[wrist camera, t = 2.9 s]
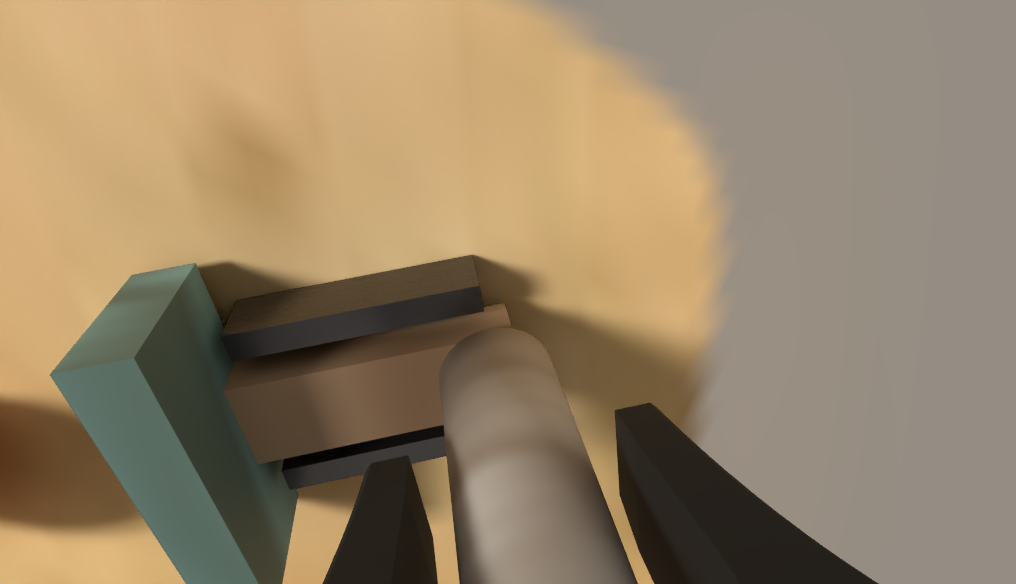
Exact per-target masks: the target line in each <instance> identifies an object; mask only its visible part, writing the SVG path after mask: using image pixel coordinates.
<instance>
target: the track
mask: <svg viewBox="0 0 1016 584" xmlns="http://www.w3.org/2000/svg"><path fill="white" fill-rule="evenodd" d="M483 311H484V306H483V301H482V295H481V290H480V285H479V281H478V277H477V273H476V269H475V265H474V261H473V257H472V255H469V256H464V257H458V258H453V259H448V260H443V261H438V262H433V263H427V264H422V265H417V266H412V267H407V268H402V269H396V270H391V271H386V272H381V273H376V274H370V275H365V276H360V277H355V278H350V279H345V280H339V281H334V282H329V283H324V284H319V285H314V286H308V287H303V288H298V289H293V290H288V291H283V292H277V293H272V294H267V295H262V296H257V297H251V298H246V299H241V300H237V301H236V304H235V306H234V308H233V310H232V312H231V315H230V317H229V319H228V321H227V323H226V325H225V328H224V330H223V332H222V334H221V336H220V337H221V339H222V342H223V344H224V346H225V348H226V350H227V353H228V355H229V357H230V359H231V361H232V362H234V361H239V360H244V359H249V358H254V357H259V356H264V355H269V354H274V353H279V352H284V351H289V350H294V349H299V348H304V347H309V346H314V345H319V344H324V343H329V342H334V341H339V340H344V339H349V338H354V337H359V336H364V335H369V334H374V333H379V332H384V331H389V330H394V329H399V328H404V327H409V326H414V325H419V324H424V323H429V322H434V321H439V320H444V319H449V318H454V317H459V316H464V315H469V314H474V313H478V312H483ZM406 455H408V456H409V459H410V462H411V464H412V463H416V462H421V461H425V460H430V459H435V458H439V457H444V456H447V454H446V444H445V434H444V425H440V426H435V427H431V428H426V429H421V430H417V431H412V432H407V433H403V434H398V435H393V436H389V437H384V438H379V439H375V440H370V441H365V442H361V443H356V444H351V445H347V446H342V447H337V448H333V449H328V450H323V451H319V452H314V453H309V454H304V455H300V456H295V457H290V458H286V459H284V461H283V466H282V470H281V472H282V474H283V476H284V478H285V480H286V483H287V485H288V487H289V489H290V490H292V489H297V488H301V487H306V486H311V485H315V484H320V483H324V482H329V481H334V480H338V479H343V478H347V477H352V476H357V475H361V474H365V472H366V469H367V468H368V467H369V466H370V464H371V463H374V462H379V461H383V460H388V459H393V458H397V457H402V456H406Z"/></svg>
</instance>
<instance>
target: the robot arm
mask: <svg viewBox="0 0 1016 584" xmlns="http://www.w3.org/2000/svg"><path fill="white" fill-rule="evenodd" d="M615 421H616V439H617V456H618V474H619V492H620V497H621V500H622V503H623V506H624V509H625V512H626V515H627V518H628V520H629V523H630V526H631V529H632V532H633V535H634V538H635V540H636V543H637V546H638V549H639V552H640V554H641V556H642V558H643V560H644V562H645V565H646V567H647V569H648V571H649V573H650V575H651V577H652V580H653V582H654V584H878V583H877V582H875V581H873V580H872V579H870V578H869V577H867V576H866V575H864V574H863V573H861V572H860V571H858V570H857V569H855V568H854V567H852V566H851V565H849V564H848V563H846V562H845V561H843V560H842V559H840V558H839V557H838V556H836V555H835V554H833V553H832V552H830V551H829V550H827V549H826V548H825V547H823V546H822V545H820V544H819V543H818V542H816V541H815V540H813V539H812V538H811V537H809V536H808V535H807V534H805V533H804V532H802V531H801V530H800V529H799V528H797V527H796V526H794V525H793V524H792V523H791V522H789V521H788V520H786V519H785V518H784V517H782V516H781V515H780V514H778V513H777V512H776V511H775V510H773V509H772V508H771V507H770V506H768V505H767V504H766V503H764V502H763V501H762V500H761V499H759V498H758V497H757V496H756V495H755V494H753V493H752V492H751V491H750V490H748V489H747V488H746V487H745V486H744V485H742V484H741V483H740V482H739V481H738V480H737V479H735V478H734V477H733V476H732V475H730V474H729V473H728V472H727V471H726V470H724V469H723V468H722V467H721V466H720V465H719V464H718V463H716V462H715V461H714V460H713V459H712V458H711V457H709V456H708V455H707V454H706V453H705V452H704V451H703V450H702V449H701V448H699V447H698V446H697V445H696V444H695V443H694V442H693V441H692V440H691V439H689V438H688V437H687V436H686V435H685V434H684V433H683V432H682V431H681V430H680V429H679V428H678V427H677V426H675V425H674V424H673V423H672V422H671V421H670V420H669V419H668V418H667V417H666V416H665V415H664V414H663V413H662V412H661V411H660V410H659V409H658V408H657V407H655V406H654V405H652V404H651V403H647V404H642V405H637V406H633V407H628V408H623V409H619V410H615ZM323 584H438V581H437V571H436V562H435V553H434V544H433V536H432V533H431V529H430V526H429V523H428V519H427V516H426V513H425V509H424V506H423V503H422V499H421V496H420V493H419V489H418V486H417V483H416V479H415V476H414V472H413V469H412V466H411V462H410V459H409V456H408V455H406V456H402V457H397V458H393V459H388V460H383V461H379V462H374V463H371V464H370V466H369V467H368V468H367V469H366V472H365V476H364V479H363V482H362V485H361V488H360V491H359V494H358V497H357V500H356V503H355V505H354V508H353V511H352V514H351V516H350V519H349V521H348V524H347V527H346V529H345V532H344V534H343V537H342V539H341V542H340V544H339V547H338V549H337V551H336V554H335V556H334V558H333V561H332V563H331V565H330V568H329V570H328V572H327V575H326V577H325V579H324V582H323Z"/></svg>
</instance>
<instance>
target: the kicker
mask: <svg viewBox="0 0 1016 584" xmlns="http://www.w3.org/2000/svg"><path fill="white" fill-rule="evenodd" d="M223 330H224V326H223V324H222V321H221V319H220V317H219V315H218V313H217V310H216V308H215V306H214V304H213V301H212V299H211V297H210V295H209V292H208V290H207V288H206V286H205V283H204V281H203V279H202V277H201V274H200V272H199V270H198V268H197V265H196V263H193V264H188V265H183V266H177V267H172V268H167V269H161V270H156V271H151V272H145V273H140V274H135V275H132V276H131V277H130V278H129V279H128V280H127V282H126V283H125V284H124V285H123V287H122V288H121V289H120V290H119V291H118V293H117V294H116V295H115V296H114V297H113V299H112V300H111V301H110V302H109V304H108V305H107V306H106V307H105V308H104V310H103V311H102V312H101V313H100V314H99V316H98V317H97V318H96V319H95V321H94V322H93V323H92V324H91V325H90V327H89V328H88V329H87V330H86V331H85V333H84V334H83V335H82V336H81V337H80V339H79V340H78V341H77V342H76V344H75V345H74V346H73V347H72V348H71V350H70V351H69V352H68V353H67V354H66V356H65V357H64V358H63V359H62V361H61V362H60V363H59V364H58V365H57V367H56V368H55V369H54V370H53V371H52V373H51V374H50V376H51V378H52V379H53V381H54V382H55V384H56V385H57V387H58V388H59V390H60V391H61V393H62V394H63V396H64V397H65V399H66V401H67V402H68V404H69V405H70V407H71V408H72V410H73V411H74V413H75V414H76V416H77V417H78V419H79V420H80V422H81V424H82V425H83V427H84V428H85V430H86V431H87V433H88V434H89V436H90V437H91V439H92V440H93V442H94V443H95V445H96V447H97V448H98V450H99V451H100V453H101V454H102V456H103V457H104V459H105V460H106V462H107V463H108V465H109V466H110V468H111V470H112V471H113V473H114V474H115V476H116V477H117V479H118V480H119V482H120V483H121V485H122V486H123V488H124V489H125V491H126V493H127V494H128V496H129V497H130V499H131V500H132V502H133V503H134V505H135V506H136V508H137V509H138V511H139V512H140V514H141V516H142V517H143V519H144V520H145V522H146V523H147V525H148V526H149V528H150V529H151V531H152V532H153V534H154V535H155V537H156V539H157V540H158V542H159V543H160V545H161V546H162V548H163V549H164V551H165V552H166V554H167V555H168V557H169V558H170V560H171V562H172V563H173V565H174V566H175V568H176V569H177V571H178V572H179V574H180V575H181V577H182V578H183V580H184V581H185V583H186V584H282V582H283V576H284V571H285V565H286V559H287V554H288V548H289V543H290V537H291V532H292V526H293V521H294V515H295V510H296V504H297V498H298V492H297V490H296V489H292V490H290V489H289V487H288V485H287V483H286V480H285V478H284V476H283V474H282V472H281V470H282V466H283V459H286V458H290V457H295V456H300V455H304V454H309V453H314V452H319V451H323V450H328V449H333V448H337V447H342V446H347V445H351V444H356V443H361V442H365V441H370V440H375V439H379V438H384V437H389V436H393V435H398V434H403V433H407V432H412V431H417V430H421V429H426V428H431V427H435V426H440V425H444V434H445V444H446V454H447V464H448V473H449V483H450V493H451V503H452V512H453V522H454V532H455V541H456V551H457V561H458V571H459V580H460V584H638V583H637V581H636V578H635V575H634V573H633V570H632V568H631V565H630V562H629V560H628V557H627V555H626V552H625V549H624V547H623V544H622V542H621V539H620V537H619V534H618V531H617V529H616V526H615V524H614V521H613V518H612V516H611V513H610V511H609V508H608V505H607V503H606V500H605V498H604V495H603V492H602V490H601V487H600V485H599V482H598V480H597V477H596V474H595V472H594V469H593V467H592V464H591V461H590V459H589V456H588V454H587V451H586V448H585V446H584V443H583V441H582V438H581V435H580V433H579V430H578V428H577V425H576V423H575V420H574V417H573V415H572V412H571V410H570V407H569V404H568V402H567V399H566V397H565V394H564V391H563V389H562V386H561V384H560V381H559V378H558V376H557V373H556V371H555V368H554V366H553V363H552V360H551V358H550V355H549V353H548V351H547V349H546V348H545V346H544V345H543V344H542V343H541V342H540V341H539V340H538V339H537V338H535V337H534V336H532V335H530V334H528V333H526V332H524V331H521V330H518V329H513V328H512V325H511V322H510V319H509V316H508V313H507V309H506V306H505V303H501V304H496V305H491V306H486V307H484V311H483V312H478V313H474V314H469V315H464V316H459V317H454V318H449V319H444V320H439V321H434V322H429V323H424V324H419V325H414V326H409V327H404V328H399V329H394V330H389V331H384V332H379V333H374V334H369V335H364V336H359V337H354V338H349V339H344V340H339V341H334V342H329V343H324V344H319V345H314V346H309V347H304V348H299V349H294V350H289V351H284V352H279V353H274V354H269V355H264V356H259V357H254V358H249V359H244V360H239V361H234V362H232V361H231V359H230V357H229V355H228V353H227V350H226V348H225V346H224V344H223V342H222V339H221V337H220V336H221V334H222V332H223Z"/></svg>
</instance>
